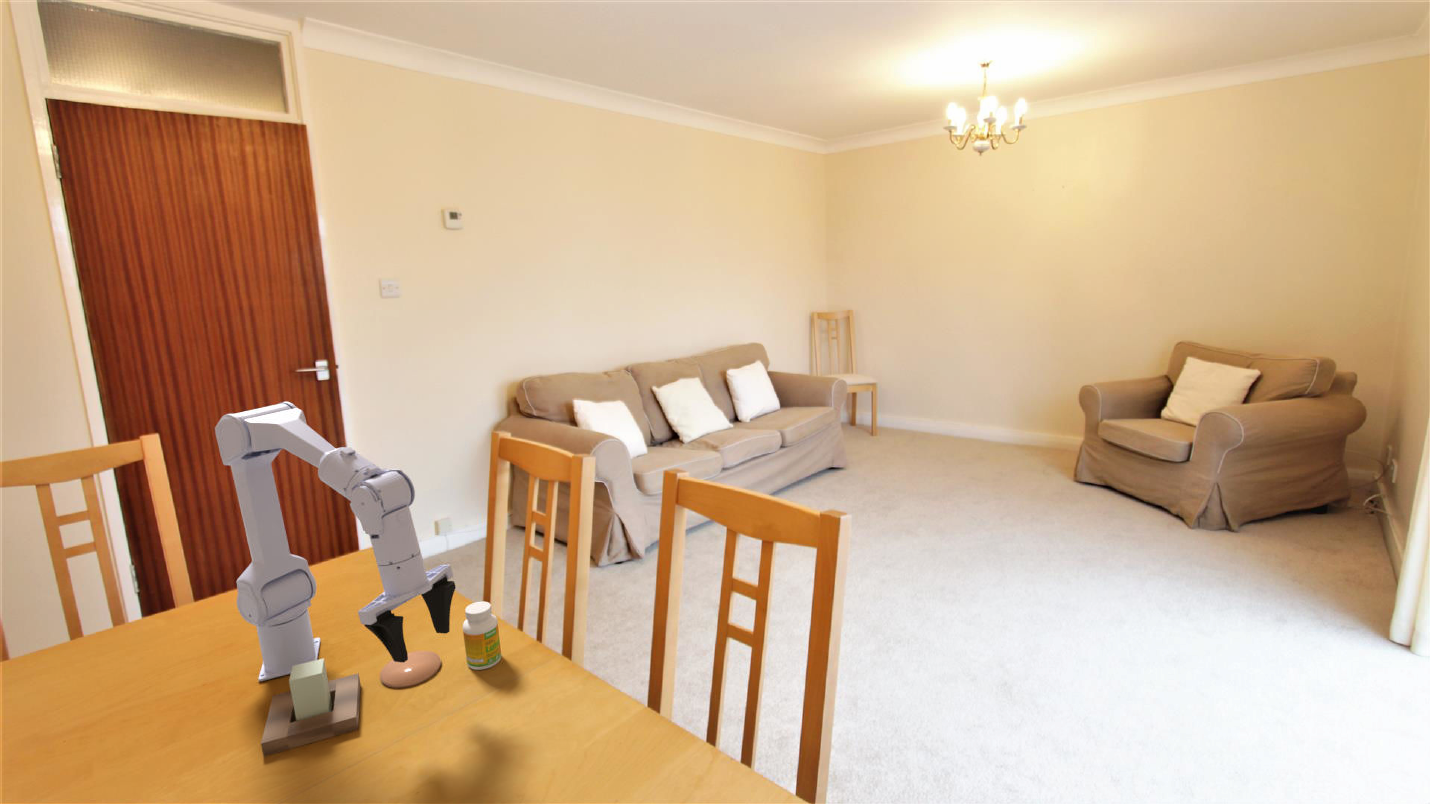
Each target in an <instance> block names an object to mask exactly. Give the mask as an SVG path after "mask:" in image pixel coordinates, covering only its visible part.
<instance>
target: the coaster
mask: <svg viewBox="0 0 1430 804" xmlns="http://www.w3.org/2000/svg"><path fill="white" fill-rule="evenodd" d="M407 654H408V660H407V661H405V662H394V660H393V659H391V660H390V661H388V662H387V663H386V664H385V665H384V666H382V668H381V670H380V672H379V679H380V683H381V684H383V685H384V686H385V687H387V688H394V689H400V688H401V689H403V688H408V687H412V686H416V685H419V684H421V683H423V682H426V681H427V680H428V679H430V678H432V677H433V676H435V675H436V674H437V673H438V672H439V670H440V668H441V667H442V666H441V665H442V660H441V657H440V655H439V654H437V653H436V652H433V651H429V650H417V651H412V652H407Z"/></svg>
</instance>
